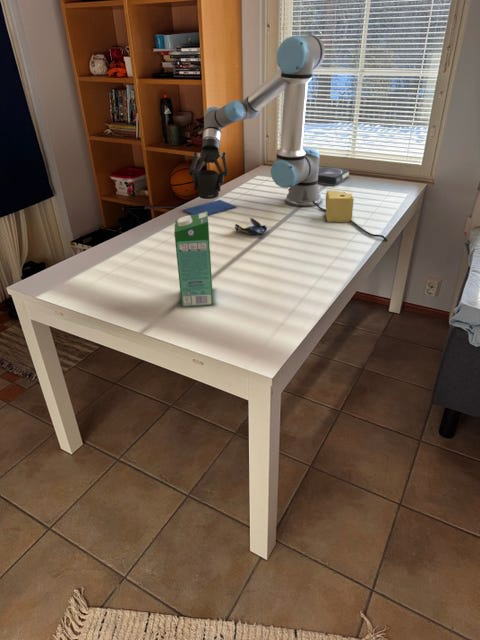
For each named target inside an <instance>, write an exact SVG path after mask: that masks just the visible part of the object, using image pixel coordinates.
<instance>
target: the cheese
mask: <svg viewBox="0 0 480 640" xmlns="http://www.w3.org/2000/svg"><path fill="white" fill-rule="evenodd" d="M354 201H355V199H354V196H353V193H349V192H346V191H343V190H326V194H325V209H326V211H325V216H326V222H328V223H329V222H330V223H342V222H343V223H351V222H350V220H351V221H353V219H352V218H353V209H354Z"/></svg>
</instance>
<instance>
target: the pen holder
mask: <svg viewBox="0 0 480 640" xmlns="http://www.w3.org/2000/svg"><path fill="white" fill-rule="evenodd" d="M219 174H220V173H219V172H217V171H216V170H213V169H204V170H200V171H199V172H197V174H196V175H197V191H198V192H197V194H198V197H199V198H200V199H203V200H213V199H216V198H219V195H220V191H218V176H219Z"/></svg>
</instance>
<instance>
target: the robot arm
mask: <svg viewBox="0 0 480 640" xmlns="http://www.w3.org/2000/svg"><path fill="white" fill-rule="evenodd" d="M325 48H326V47H325V44H324V42H323V40H322V39H321V38H320V37H318V36H316V35H314V34H306V35H305V34H302V35H299V34H297V35H292V36H289V37H286V38H285V39H283V41H282V42H281V43H280V44H279V46H278V47H277V50H276V51H277V52H276V64H277V66H278V68H279V69H277V70H276V71H275V72H274V73H273V74H271V76H270V77H268V78H267V79H266V80H265V81H264V82H262V84H260V85H259V86H258V87H256V88H255V89H254V90H253V91H252V92H251V93H250V94H249V95H248V96H246V97H245V98H244V99H243V100H241V101H239V100H238V99H237V100H236V99H235V100H232V101H230V102H229V101H228V103H226V104H224V105H223V106H221V107H220V108H219V107H217V106H212V107H211V106H210V107H207V109H206V110H205V114H204V119H203V120H204V121H203V134H202V144H201V151H200V152H197V151H194V153H193V159H192V161H191V163H190V164H191V165H190V167H189V170H188V173H189V175H190V176H192V184H193V189H194V192H197V191H198V185H197V175H196V174H197V172H199V171H202V169H203V167H204V166H205V165H206V164H210V163H211V164H214V165H215V167H216V169H217V171H218V174H219V176H218V191H219V192H221V186H222V184H224V180H225V179H224V178H225V177H227V176H229V171H228V166H227V161H226V160H227V154H226V152H224V151H223V152H220V148H221V147H220V146H221V134H222V129H223V128H225V127H227V126H229V125H231V124H234V123H237V122H241V121H245V120H248V119H253V118H254V117H256V116H257V115H258V114H259V112H260V110H261V109H263V108H264V107H266V106H267V105H268V104H269V103H270V102H272V101H273V100H274V99H275V98H277V97H278V96H279V95H280V94H282V93H283V105H282V121H281V135H280V136H281V137H280V148H279V149H277V151H276V158H275V161H274V163H273V164H272V165H271V167H270V176H271V180H272V181H273V182H274V183H275V184H276V186H277V187H280V188H283V189H288V191H287V192H288V193H287V195H286V203H287V204H289V205H291V206H296V207H313V206H316V207H317V208H318V209H320V210H321V211H322V212H326V208H323V207H321V206H320V205H319V204H320V203H321V202H322V201H321V200H322V199H321V198H322V197H321V194H320V189H319V185H318V184H319V183H318V170H319V166H320V158H321V157H320V151H319V149H316V148H313V147H311V148H310V147H303V141H304V129H305V128H304V127H305V117H306V105H307V94H308V83H309V82H310V81H311V80H312V79H313V73H314V72H313V71H315V70H316V69H318V67H320V66H321V64H322V63H323V60H324V59H325V55H326V49H325ZM200 157H201V159H200ZM219 158H220V159H221V160H222V164H223V169H222V167H221V165H220V163H219V161H218V160H219ZM199 159H200V161H199ZM198 161H199V163H198ZM223 170H224V171H223ZM349 223H351V224H352V225H354V226H355V227H357V229H359V230H361V231H362V232H363V233H365V234H367V235H368V236H371V237H379V238H382V239H383V240H384V241H385V242H388V239H387V237H386V236H384V235H382V234H374V233H371V232H369V231H367V230H366V229H364V228H363V227H362V226H359V224H357V223H356V222H354V221H353V220H350V222H349Z"/></svg>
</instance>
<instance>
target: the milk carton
mask: <svg viewBox="0 0 480 640" xmlns="http://www.w3.org/2000/svg"><path fill="white" fill-rule="evenodd" d="M209 226H210V225H209V215H208V212H207V211H206V212H202V213H199V214H196V215H185V216H182V217H180V218H178V219H176V220H175V222H174V231H173V233H174V234H173V235H174V243H175V253H176V262H177V272H178V282H179V292H180V301H181V307H196V306H197V307H198V306H199V307H200V306H212V305H214V294H213V293H214V292H213V277H212V260H211V243H210V229H209Z"/></svg>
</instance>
